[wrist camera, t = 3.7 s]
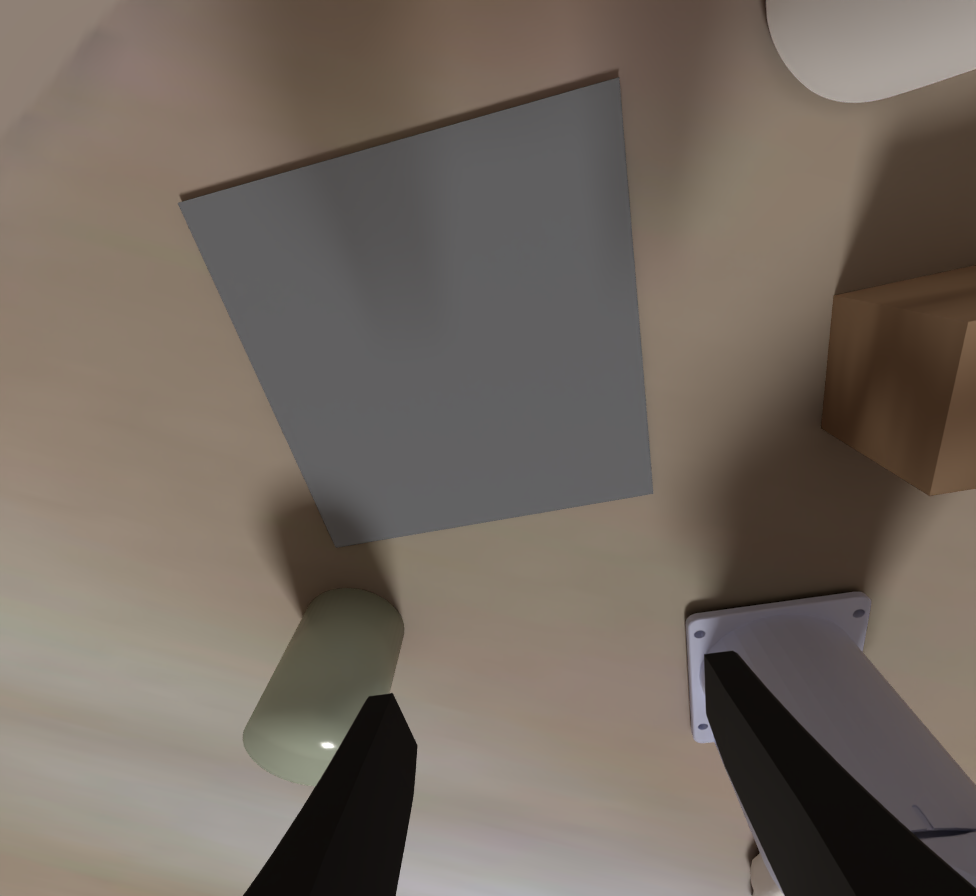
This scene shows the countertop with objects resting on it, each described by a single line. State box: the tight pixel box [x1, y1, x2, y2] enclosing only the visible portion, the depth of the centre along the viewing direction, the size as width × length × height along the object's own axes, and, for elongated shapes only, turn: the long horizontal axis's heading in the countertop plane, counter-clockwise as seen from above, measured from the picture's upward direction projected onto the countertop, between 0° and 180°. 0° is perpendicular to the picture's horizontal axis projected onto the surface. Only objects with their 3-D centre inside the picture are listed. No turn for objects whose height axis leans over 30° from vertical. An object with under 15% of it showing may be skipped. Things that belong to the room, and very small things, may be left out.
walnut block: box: [821, 265, 976, 496], centre depth 14 cm, size 5×5×5 cm
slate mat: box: [178, 77, 653, 548], centre depth 17 cm, size 14×14×1 cm
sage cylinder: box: [243, 588, 404, 786], centre depth 20 cm, size 5×5×6 cm
